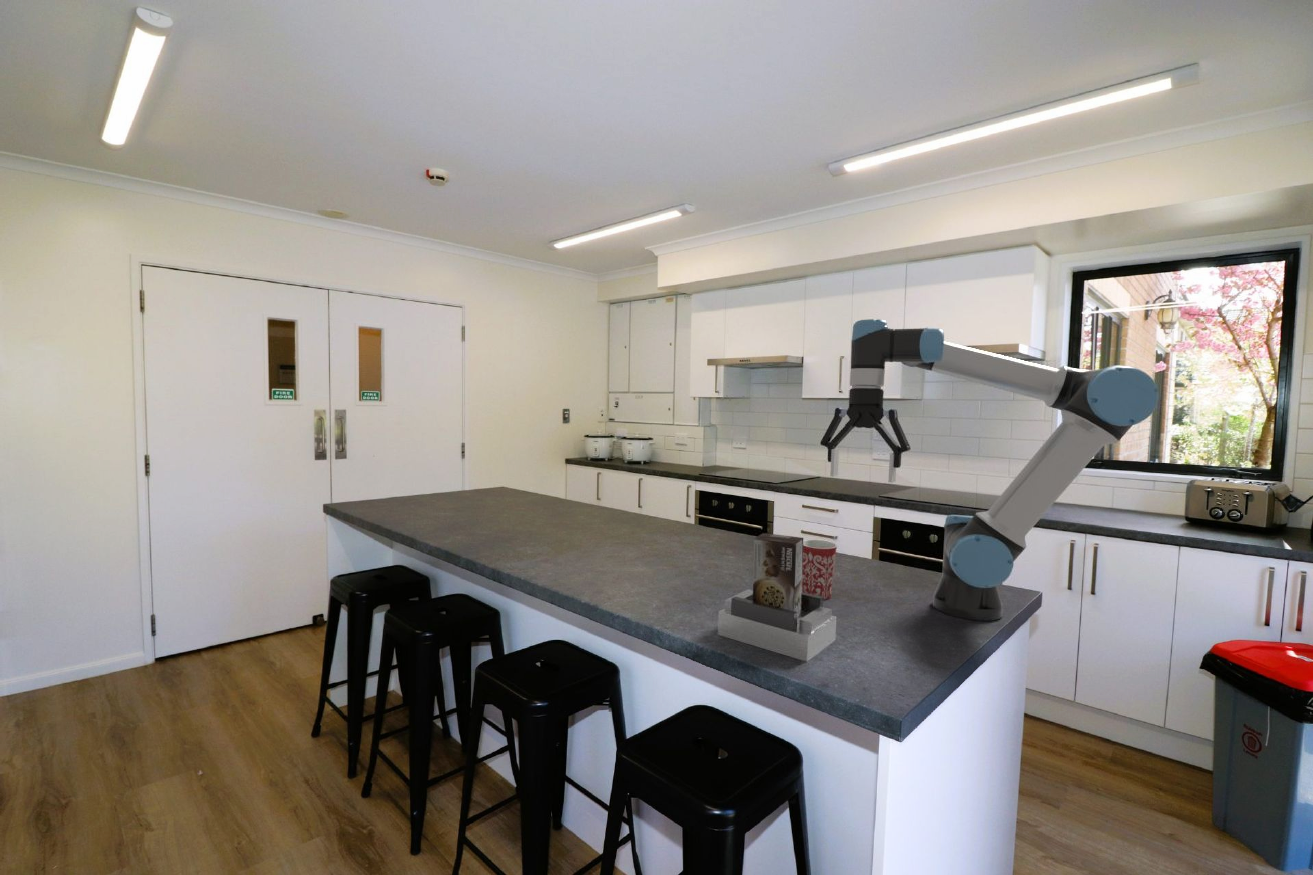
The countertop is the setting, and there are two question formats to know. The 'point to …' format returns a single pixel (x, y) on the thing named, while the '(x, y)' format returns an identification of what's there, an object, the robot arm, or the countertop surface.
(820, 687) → the countertop surface
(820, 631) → the grey tray box
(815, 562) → the mug
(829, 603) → the countertop surface
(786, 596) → the coffee box
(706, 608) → the countertop surface
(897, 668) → the countertop surface
